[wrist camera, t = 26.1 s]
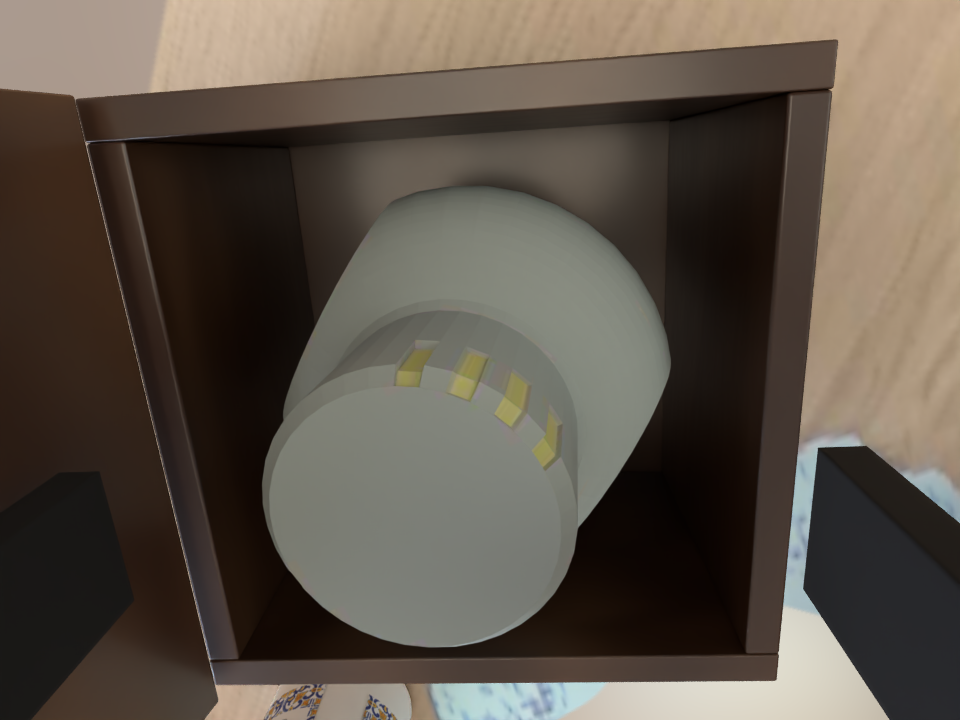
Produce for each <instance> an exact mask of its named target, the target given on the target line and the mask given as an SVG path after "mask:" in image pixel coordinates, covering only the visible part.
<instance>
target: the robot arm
mask: <svg viewBox="0 0 960 720" xmlns="http://www.w3.org/2000/svg"><path fill="white" fill-rule="evenodd" d="M803 589H804V591H805V592H806V594H807V595H808V597H809V598H810V600H811V601H812V603H813V604H814V606H815V607H816V609H817V610H818V612H819V613H820V615H821V617H822V618H823V620H824V621H825V623H826V624H827V626H828V627H829V629H830V630H831V632H832V633H833V635H834V636H835V637H836V639H837V641H838V642H839V644H840V645H841V647H842V648H843V650H844V651H845V653H846V654H847V656H848V657H849V659H850V660H851V662H852V663H853V665H854V666H855V668H856V670H857V671H858V673H859V674H860V675H861V677H862V679H863V680H864V682H865V683H866V685H867V686H868V688H869V689H870V691H871V692H872V693H873V695H874V697H875V698H876V699H877V701H878V703H879V704H880V706H881V707H882V709H883V710H884V712H885V713H886V715H887V716H888V718H889V719H890V720H960V523H959V522H958V521H956V520H955V519H954V518H953V517H951V516H950V515H949V514H948V513H947V512H945V511H944V510H943V509H942V508H941V507H939V506H938V505H937V504H936V503H935V502H933V501H932V500H931V499H930V498H929V497H927V496H926V495H925V494H924V493H923V492H921V491H920V490H919V489H918V488H917V487H915V486H914V485H913V484H912V483H910V482H909V481H908V480H907V479H906V478H904V477H903V476H902V475H901V474H900V473H898V472H897V471H896V470H895V469H894V468H892V467H891V466H890V465H889V464H888V463H886V462H885V461H884V460H883V459H882V458H880V457H879V456H878V455H877V454H875V453H874V452H873V451H872V450H871V449H869V448H868V447H867V446H855V447H825V448H818V454H817V463H816V473H815V482H814V492H813V501H812V511H811V520H810V530H809V539H808V549H807V558H806V568H805V577H804V586H803ZM133 601H134V596H133V592H132V589H131V585H130V581H129V578H128V574H127V570H126V567H125V563H124V559H123V556H122V552H121V548H120V545H119V541H118V537H117V534H116V530H115V526H114V523H113V519H112V515H111V512H110V508H109V504H108V501H107V497H106V493H105V490H104V486H103V482H102V479H101V475H100V471H91V472H60V473H58V474H56V475H55V476H53V477H52V478H50V479H49V480H47V481H46V482H44V483H43V484H42V485H40V486H39V487H37V488H36V489H34V490H33V491H31V492H30V493H28V494H27V495H26V496H24V497H23V498H21V499H20V500H18V501H17V502H15V503H14V504H12V505H11V506H10V507H8V508H7V509H5V510H4V511H2V512H1V513H0V720H31V719H32V718H33V717H34V716H35V715H36V714H37V712H38V711H39V710H40V709H41V708H42V707H43V705H44V704H45V703H46V702H47V701H48V700H49V699H50V697H51V696H52V695H53V694H54V693H55V692H56V690H57V689H58V688H59V687H60V686H61V685H62V684H63V682H64V681H65V680H66V679H67V678H68V677H69V675H70V674H71V673H72V672H73V671H74V670H75V669H76V667H77V666H78V665H79V664H80V663H81V662H82V660H83V659H84V658H85V657H86V656H87V655H88V653H89V652H90V651H91V650H92V649H93V648H94V647H95V645H96V644H97V643H98V642H99V641H100V640H101V638H102V637H103V636H104V635H105V634H106V633H107V632H108V630H109V629H110V628H111V627H112V626H113V625H114V623H115V622H116V621H117V620H118V619H119V618H120V616H121V615H122V614H123V613H124V612H125V611H126V610H127V608H128V607H129V606H130V605H131V604H132V603H133Z"/></svg>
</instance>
